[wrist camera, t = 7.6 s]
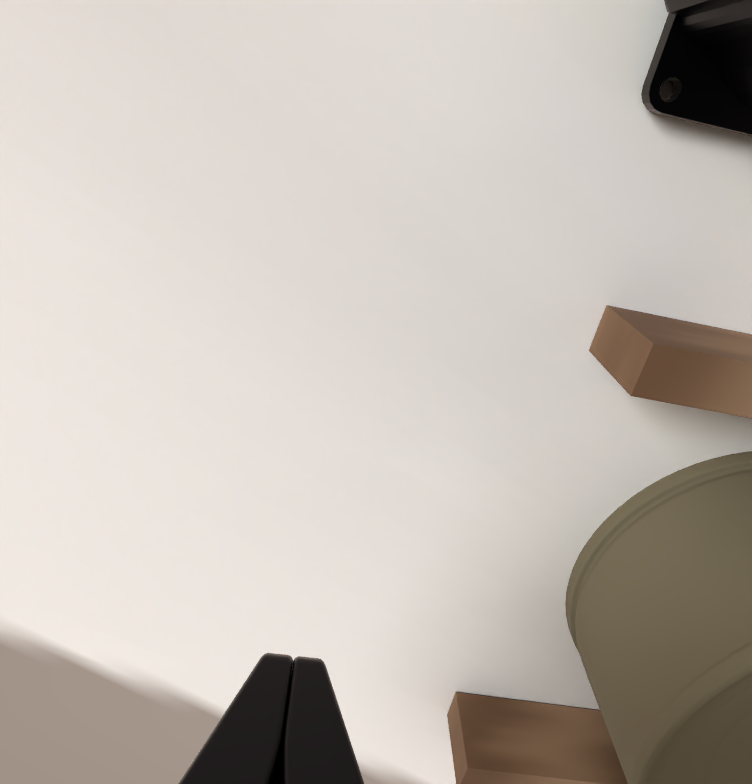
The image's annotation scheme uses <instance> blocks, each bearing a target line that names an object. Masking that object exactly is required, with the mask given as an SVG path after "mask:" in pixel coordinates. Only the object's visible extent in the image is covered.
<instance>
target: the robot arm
mask: <svg viewBox="0 0 752 784" xmlns="http://www.w3.org/2000/svg"><path fill="white" fill-rule="evenodd" d="M664 1H665V5H666V9H667V12H669V15H668V17H667V20H666V23H665V26H664V29H663V31H662V34H661V37H660V40H659V43H658V45H657V48H656V51H655V54H654V57H653V59H652V62H651V65H650V68H649V71H648V73H647V76H646V79H645V82H644V85H643V89H642V100H643V104H644V105H645V107H646V108H647V109H648V110H649V111H651V112H653V113H656V114H661V115H665V116H669V117H673V118H677V119H682V120H686V121H690V122H694V123H698V124H702V125H707V126H711V127H715V128H719V129H723V130H728V131H732V132H736V133H740V134H744V135H748V136H752V0H664ZM667 79H669V80H671V81H672V83H673V86H674V88H673V93H672V95H671V96H670V98H669V99H667V100H666V101H664V100H662V99H661V97H660V94H659V92H660V87H661V85H662V83H663V82H664V81H665V80H667ZM292 665H293V666H292ZM179 784H364V782H363V779H362V776H361V772H360V769H359V766H358V763H357V760H356V757H355V754H354V751H353V748H352V745H351V742H350V739H349V736H348V733H347V730H346V727H345V724H344V721H343V718H342V715H341V711H340V708H339V705H338V702H337V699H336V696H335V693H334V690H333V687H332V684H331V681H330V678H329V675H328V672H327V669H326V666H325V664H324V662H323V661H322V660H321V659H318V658H309V657H300V656H299V657H296V658H295V659H294V661H293V659H292V657H291V656H289V655H282V654H273V653H266V654H264V655H263V656H262V657H261V659H260V660H259V661H258V663H257V665H256V666H255V668H254V669H253V671H252V672H251V674H250V675H249V677H248V678H247V680H246V681H245V683H244V684H243V686H242V688H241V689H240V691H239V692H238V694H237V695H236V697H235V698H234V700H233V701H232V703H231V704H230V706H229V707H228V709H227V710H226V712H225V714H224V715H223V717H222V718H221V720H220V721H219V723H218V724H217V726H216V727H215V729H214V731H213V732H212V734H211V735H210V736H209V738H208V740H207V741H206V743H205V744H204V746H203V747H202V749H201V750H200V752H199V754H198V755H197V756H196V758H195V759H194V761H193V763H192V764H191V766H190V767H189V769H188V770H187V772H186V773H185V775H184V776H183V778H182V779H181V781H180V782H179Z"/></svg>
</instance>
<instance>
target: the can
mask: <svg viewBox="0 0 752 784" xmlns="http://www.w3.org/2000/svg"><path fill="white" fill-rule="evenodd" d="M566 616H567V621H568V626H569V629H570V632H571V635H572V638H573V641H574V643H575V646H576V647H577V649H578V651H579V653H580V656H581V659H582V662H583V665H584V667H585V670H586V673H587V676H588V679H589V681H590V684H591V687H592V689H593V692H594V695H595V697H596V700H597V703H598V705H599V708H600V710H601V713H602V716H603V718H604V721H605V724H606V726H607V729H608V732H609V734H610V737H611V740H612V742H613V745H614V748H615V750H616V753H617V756H618V758H619V761H620V764H621V766H622V769H623V772H624V775H625V777H626V780H627V783H628V784H752V451H751V452H743V453H737V454H731V455H726V456H722V457H718V458H713V459H710V460H707V461H704V462H701V463H697V464H694V465H692V466H689V467H687V468H684V469H682V470H679V471H677V472H675V473H673V474H671V475H669V476H666V477H664V478H662V479H660V480H659V481H657V482H655V483H653V484H652V485H650V486H648V487H646V488H645V489H643V490H642V491H640V492H639V493H638V494H636V495H635V496H633V497H632V498H630V499H629V500H628V501H627V502H625V503H624V504H623V505H622V506H620V507H619V508H618V509H617V510H616V511H615V512H614V513H612V514H611V515H610V516H609V517H608V518H607V519H606V520H605V521H604V522H603V523H602V525H601V526H600V527H599V528H598V529H597V530H596V531H595V533H594V534H593V535H592V537H591V538H590V539H589V541H588V542H587V543H586V545H585V547H584V548H583V550H582V551H581V553H580V555H579V557H578V559H577V561H576V563H575V565H574V567H573V570H572V573H571V576H570V579H569V583H568V587H567V593H566Z"/></svg>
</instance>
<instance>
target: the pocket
mask: <svg viewBox="0 0 752 784" xmlns="http://www.w3.org/2000/svg"><path fill="white" fill-rule="evenodd" d="M589 351H590V352H591V353H592V354H593V355H594V357H595V358H596V359H597V360H598V361H599V362H600V363H601V364H602V365H603V366H604V367H605V368H606V370H607V371H608V372H609V373H610V374H611V375H612V376H613V377H614V378H615V379H616V380H617V381H618V383H619V384H620V385H621V386H622V387H623V388H624V389H625V390H626V391H627V392H628V393H629V394H630V396H634V397H640V398H645V399H651V400H656V401H661V402H667V403H672V404H677V405H683V406H688V407H693V408H699V409H704V410H709V411H715V412H720V413H726V414H731V415H736V416H742V417H747V418H752V335H751V334H746V333H741V332H736V331H731V330H726V329H721V328H716V327H711V326H706V325H702V324H697V323H692V322H687V321H682V320H677V319H672V318H667V317H662V316H657V315H652V314H647V313H642V312H637V311H632V310H627V309H622V308H617V307H613V306H608V305H607V306H606V308H605V311H604V313H603V316H602V319H601V321H600V324H599V326H598V329H597V331H596V334H595V337H594V339H593V342H592V344H591V347H590V349H589ZM447 717H448V724H449V732H450V739H451V747H452V754H453V762H454V769H455V777H456V784H628V783H627V780H626V777H625V775H624V772H623V769H622V766H621V764H620V761H619V758H618V756H617V753H616V750H615V748H614V745H613V742H612V740H611V737H610V734H609V732H608V729H607V726H606V724H605V721H604V718H603V716H602V713H601V711H600V710H592V709H584V708H576V707H568V706H561V705H553V704H545V703H537V702H529V701H522V700H514V699H506V698H498V697H490V696H483V695H475V694H467V693H459V692H456V694H455V696H454V699H453V701H452V704H451V706H450V709H449V712H448V714H447Z"/></svg>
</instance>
